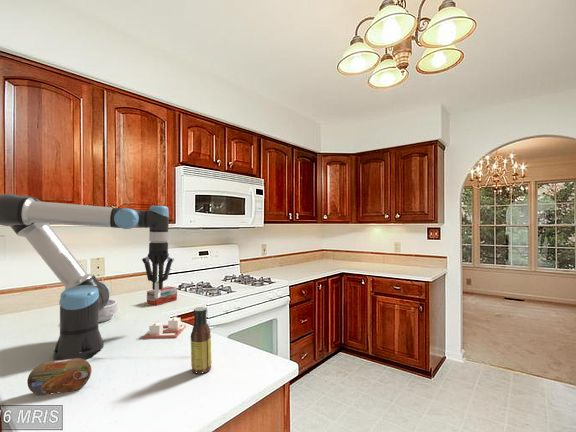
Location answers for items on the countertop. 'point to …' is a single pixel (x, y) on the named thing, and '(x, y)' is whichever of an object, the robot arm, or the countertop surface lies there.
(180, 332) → the red compartment tray
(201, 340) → the sauce bottle
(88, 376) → the tin
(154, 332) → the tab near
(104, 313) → the paper bowls
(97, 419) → the countertop surface
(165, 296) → the medicine box
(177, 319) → the white toy block
